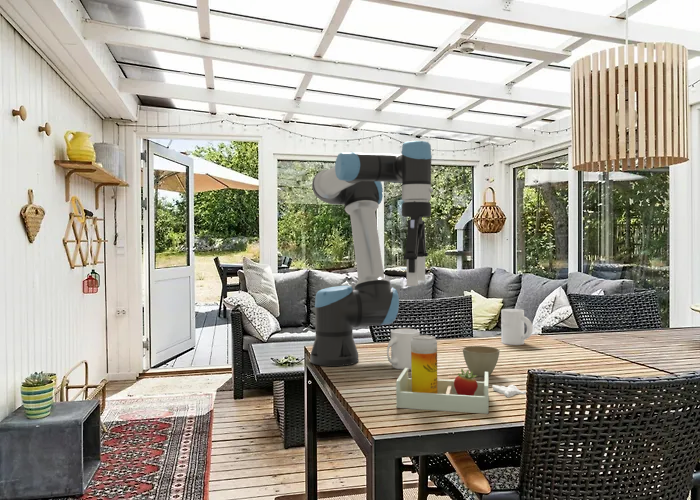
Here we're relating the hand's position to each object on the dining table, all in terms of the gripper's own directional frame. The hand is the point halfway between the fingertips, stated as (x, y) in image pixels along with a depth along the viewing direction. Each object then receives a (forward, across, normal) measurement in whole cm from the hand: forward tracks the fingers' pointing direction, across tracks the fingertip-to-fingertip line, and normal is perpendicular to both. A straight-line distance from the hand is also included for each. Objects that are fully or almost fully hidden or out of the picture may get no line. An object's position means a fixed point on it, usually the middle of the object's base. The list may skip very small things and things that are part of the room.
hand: (416, 283), depth 140 cm
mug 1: (+27, +16, +7) cm, 32 cm away
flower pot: (+27, +13, -16) cm, 34 cm away
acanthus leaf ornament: (+27, -3, -24) cm, 36 cm away
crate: (+26, -15, -9) cm, 31 cm away
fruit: (+26, -15, -14) cm, 33 cm away
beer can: (+26, -16, -4) cm, 31 cm away
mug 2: (+28, +62, -28) cm, 73 cm away
